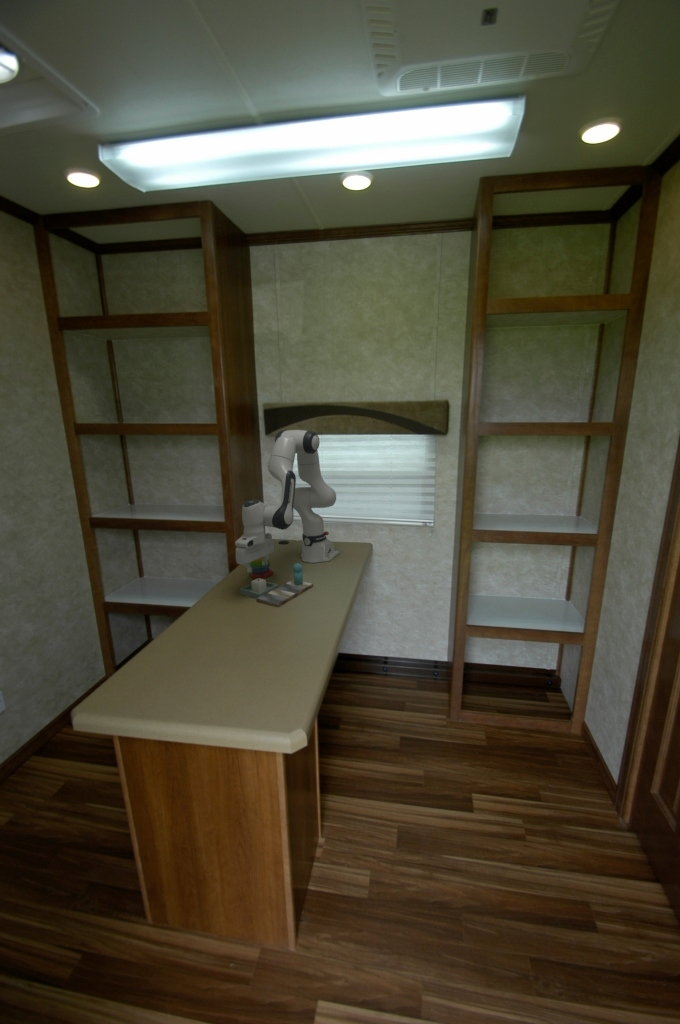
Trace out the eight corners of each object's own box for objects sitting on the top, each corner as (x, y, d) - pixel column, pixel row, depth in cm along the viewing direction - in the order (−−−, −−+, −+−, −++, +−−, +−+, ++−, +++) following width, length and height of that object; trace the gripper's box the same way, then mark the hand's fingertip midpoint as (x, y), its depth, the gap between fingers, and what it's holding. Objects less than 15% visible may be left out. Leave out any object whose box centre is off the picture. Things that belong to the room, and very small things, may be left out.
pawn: (297, 581, 196) (296, 561, 194) (305, 582, 194) (304, 562, 192) (291, 584, 193) (290, 564, 190) (299, 586, 190) (298, 565, 188)
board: (292, 581, 199) (292, 578, 199) (313, 586, 193) (313, 583, 192) (256, 601, 180) (256, 598, 179) (278, 607, 173) (277, 604, 173)
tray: (258, 584, 197) (258, 579, 197) (278, 589, 191) (278, 584, 190) (239, 594, 188) (239, 588, 187) (259, 599, 181) (259, 594, 181)
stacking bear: (274, 571, 213) (272, 537, 209) (269, 579, 203) (266, 543, 199) (253, 571, 214) (250, 537, 210) (247, 579, 204) (244, 543, 200)
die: (259, 587, 192) (258, 577, 191) (266, 589, 190) (265, 579, 189) (252, 590, 189) (251, 581, 188) (259, 593, 186) (258, 583, 185)
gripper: (265, 531, 194) (268, 559, 197) (231, 543, 177) (235, 574, 180) (276, 532, 190) (278, 561, 194) (242, 545, 174) (245, 577, 177)
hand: (257, 568), depth 187 cm, fingers open, 8 cm apart
